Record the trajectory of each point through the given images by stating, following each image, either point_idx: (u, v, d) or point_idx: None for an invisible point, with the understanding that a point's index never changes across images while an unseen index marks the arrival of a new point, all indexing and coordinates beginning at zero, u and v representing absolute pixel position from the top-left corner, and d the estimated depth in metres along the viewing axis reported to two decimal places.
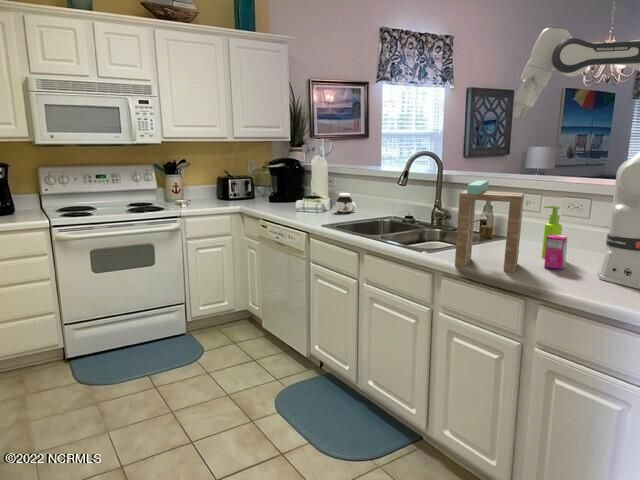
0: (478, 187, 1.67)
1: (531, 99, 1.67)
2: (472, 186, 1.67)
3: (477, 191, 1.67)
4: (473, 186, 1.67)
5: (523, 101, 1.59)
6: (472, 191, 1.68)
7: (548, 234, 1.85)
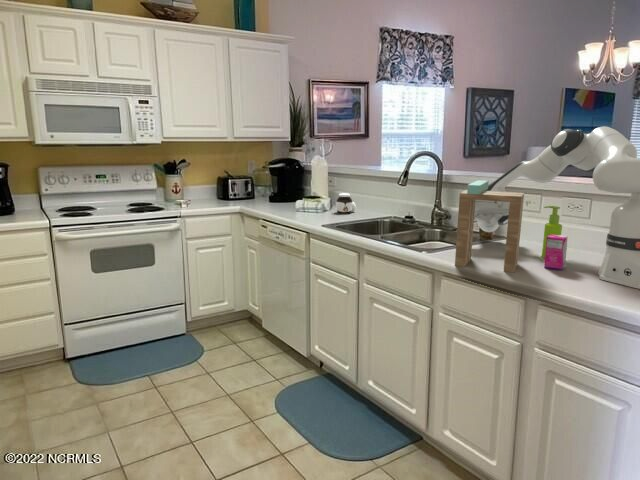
0: (478, 187, 1.67)
1: (484, 209, 2.02)
2: (472, 186, 1.67)
3: (477, 191, 1.67)
4: (473, 186, 1.67)
5: None
6: (472, 191, 1.68)
7: (548, 234, 1.85)
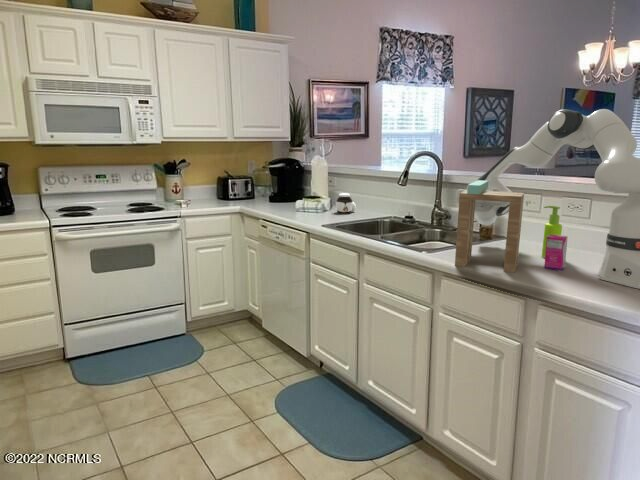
0: (478, 187, 1.67)
1: (481, 200, 1.94)
2: (472, 186, 1.67)
3: (477, 191, 1.67)
4: (473, 186, 1.67)
5: None
6: (472, 191, 1.68)
7: (548, 234, 1.85)
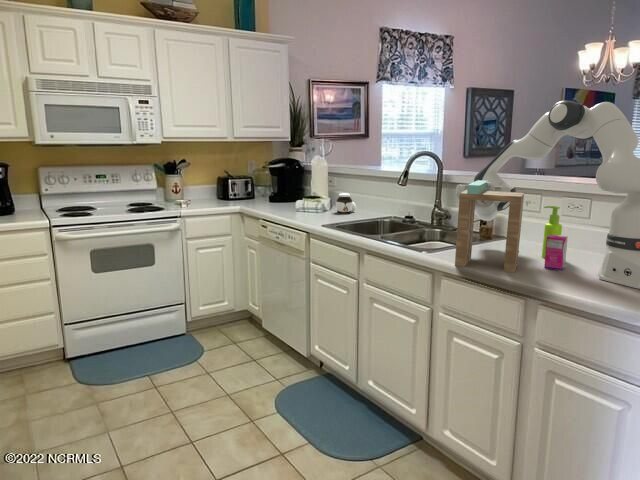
0: (478, 187, 1.67)
1: None
2: (472, 186, 1.67)
3: (477, 191, 1.67)
4: (473, 186, 1.67)
5: None
6: (472, 191, 1.68)
7: (548, 234, 1.85)
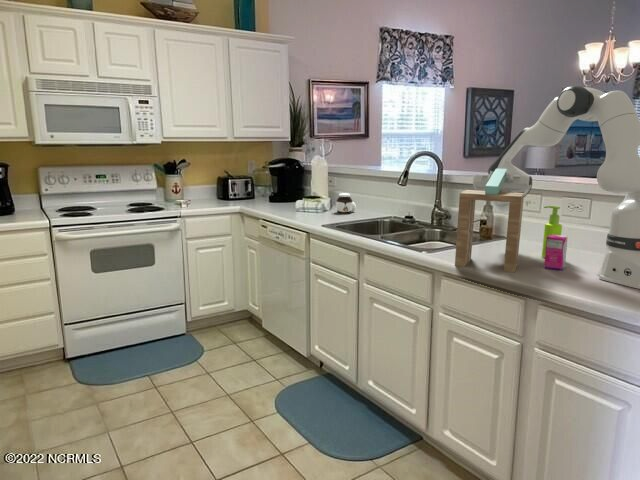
0: (496, 188, 1.64)
1: None
2: (490, 187, 1.65)
3: (495, 192, 1.65)
4: (491, 187, 1.65)
5: (528, 183, 1.81)
6: (490, 192, 1.66)
7: (548, 234, 1.85)
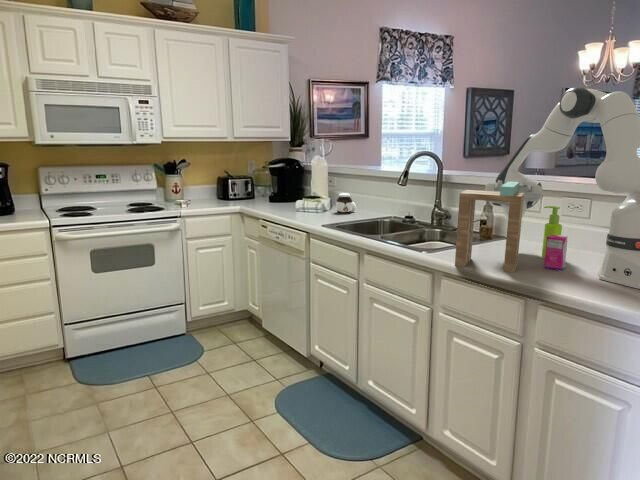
0: (512, 189, 1.62)
1: None
2: (505, 188, 1.63)
3: (511, 193, 1.63)
4: (506, 188, 1.63)
5: (541, 193, 1.80)
6: (505, 193, 1.63)
7: (548, 234, 1.85)
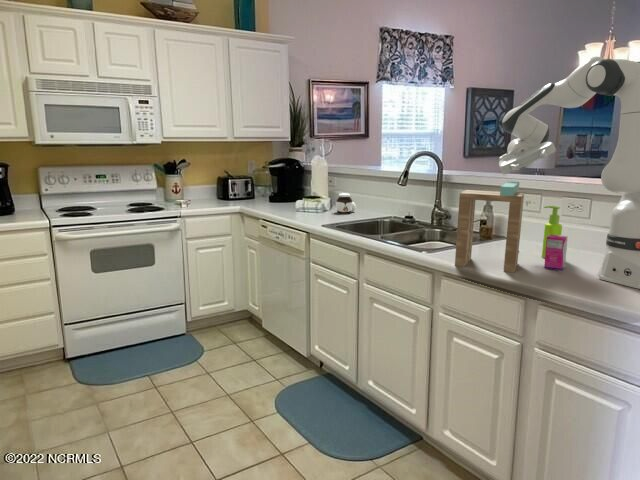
0: (512, 189, 1.62)
1: None
2: (505, 188, 1.63)
3: (511, 193, 1.63)
4: (506, 188, 1.63)
5: (555, 150, 1.80)
6: (505, 193, 1.63)
7: (548, 234, 1.85)
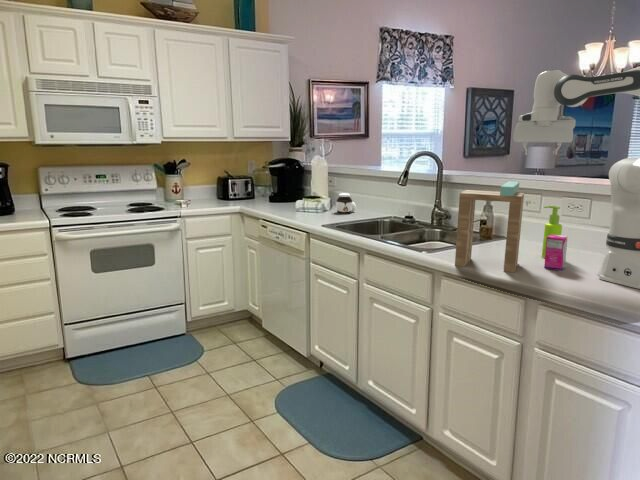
0: (512, 189, 1.62)
1: None
2: (505, 188, 1.63)
3: (511, 193, 1.63)
4: (506, 188, 1.63)
5: None
6: (505, 193, 1.63)
7: (548, 234, 1.85)
